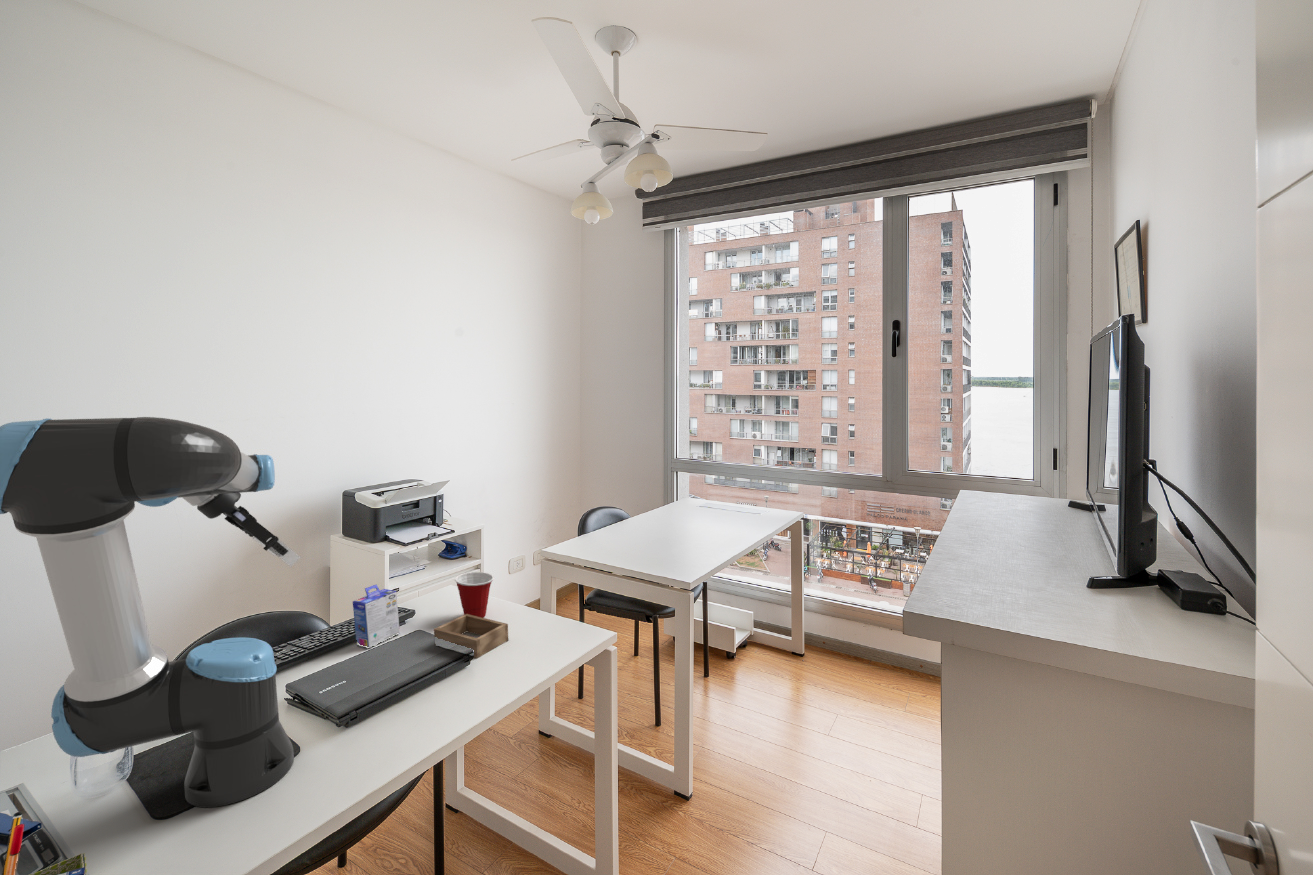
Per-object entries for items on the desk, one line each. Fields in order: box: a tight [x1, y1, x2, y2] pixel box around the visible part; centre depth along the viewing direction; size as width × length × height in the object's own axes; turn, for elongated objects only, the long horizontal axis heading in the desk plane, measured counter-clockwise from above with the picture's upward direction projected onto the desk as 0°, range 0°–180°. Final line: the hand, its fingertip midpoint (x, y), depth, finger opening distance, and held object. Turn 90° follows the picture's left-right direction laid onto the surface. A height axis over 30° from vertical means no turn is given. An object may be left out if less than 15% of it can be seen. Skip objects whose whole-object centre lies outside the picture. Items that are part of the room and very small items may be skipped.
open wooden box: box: [433, 614, 509, 659], centre depth 147 cm, size 11×15×4 cm
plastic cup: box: [454, 571, 495, 618], centre depth 164 cm, size 11×11×12 cm
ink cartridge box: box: [352, 584, 400, 649], centre depth 149 cm, size 10×6×14 cm, turn 155°
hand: (287, 556), depth 133 cm, fingers open, 13 cm apart
